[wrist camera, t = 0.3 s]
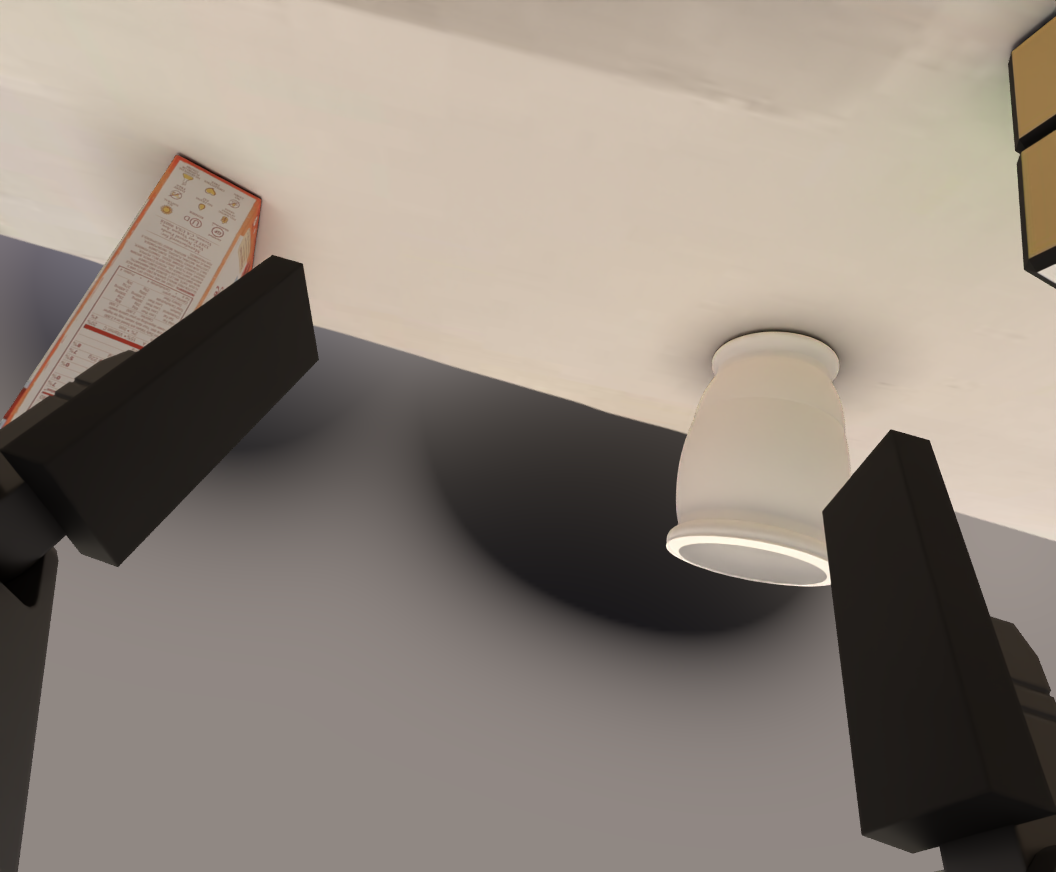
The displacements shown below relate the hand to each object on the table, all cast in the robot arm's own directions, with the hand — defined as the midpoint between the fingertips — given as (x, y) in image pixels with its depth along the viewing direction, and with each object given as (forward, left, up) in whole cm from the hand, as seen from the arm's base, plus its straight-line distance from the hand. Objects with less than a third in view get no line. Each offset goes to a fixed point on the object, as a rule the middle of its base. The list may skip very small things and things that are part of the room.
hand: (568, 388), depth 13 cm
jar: (+24, +12, -18) cm, 33 cm away
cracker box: (+22, -31, -18) cm, 42 cm away
